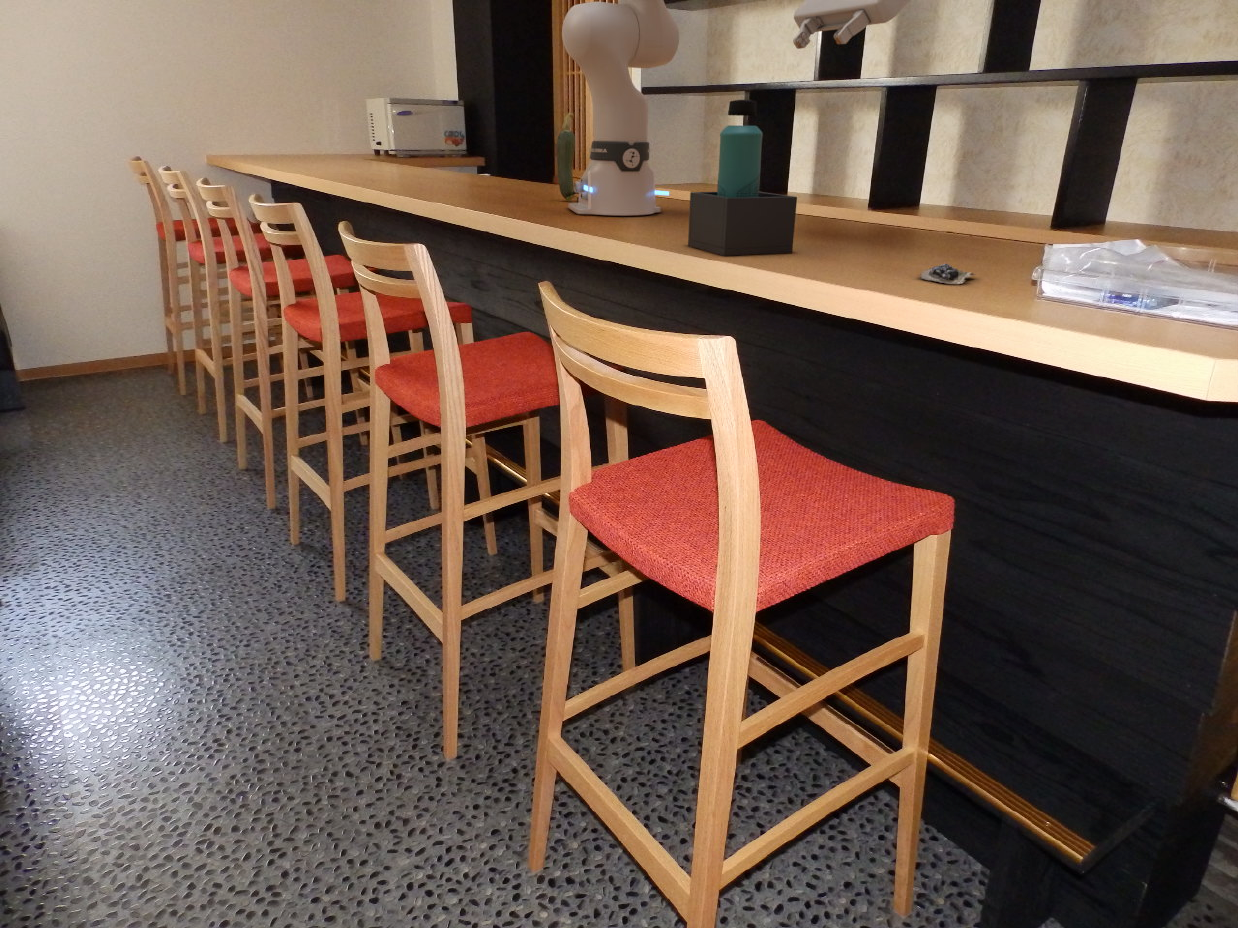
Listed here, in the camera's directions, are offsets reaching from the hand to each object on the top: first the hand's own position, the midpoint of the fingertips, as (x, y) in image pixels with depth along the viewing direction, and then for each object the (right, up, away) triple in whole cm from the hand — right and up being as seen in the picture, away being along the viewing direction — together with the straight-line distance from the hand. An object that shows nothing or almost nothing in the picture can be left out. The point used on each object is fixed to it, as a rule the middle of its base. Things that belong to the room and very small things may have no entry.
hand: (817, 43), depth 128 cm
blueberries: (+11, -41, -23) cm, 48 cm away
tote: (-12, -31, +1) cm, 33 cm away
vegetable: (-43, -1, +76) cm, 87 cm away
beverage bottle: (-12, -30, +1) cm, 33 cm away
